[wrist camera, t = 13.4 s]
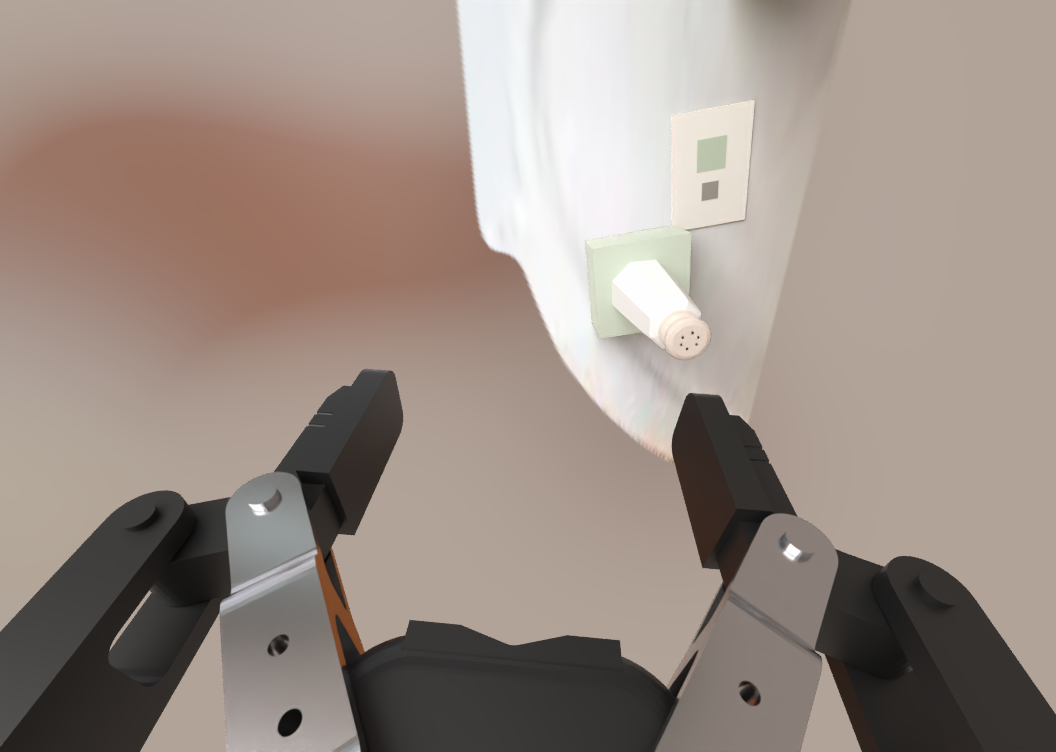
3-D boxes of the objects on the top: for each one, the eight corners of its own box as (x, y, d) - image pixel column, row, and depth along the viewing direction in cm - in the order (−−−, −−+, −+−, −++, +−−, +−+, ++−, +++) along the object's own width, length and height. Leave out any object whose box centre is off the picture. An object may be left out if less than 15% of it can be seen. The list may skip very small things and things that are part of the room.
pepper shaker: (623, 330, 37) (662, 392, 27) (599, 276, 34) (632, 324, 25) (681, 302, 36) (743, 357, 26) (661, 245, 33) (721, 282, 24)
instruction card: (671, 115, 33) (672, 114, 32) (753, 99, 32) (755, 99, 32) (671, 232, 37) (672, 232, 37) (743, 219, 37) (745, 219, 36)
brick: (584, 240, 37) (591, 249, 33) (674, 225, 36) (691, 232, 33) (591, 323, 41) (599, 338, 37) (673, 310, 40) (688, 325, 37)
